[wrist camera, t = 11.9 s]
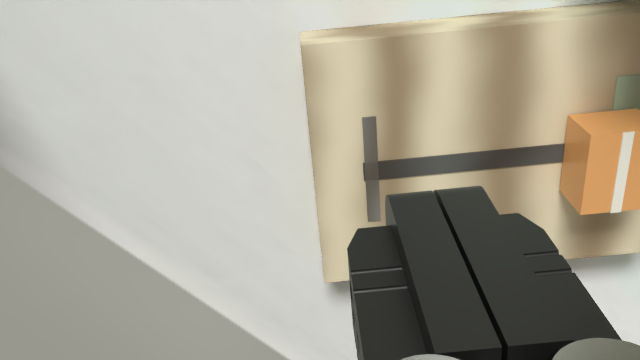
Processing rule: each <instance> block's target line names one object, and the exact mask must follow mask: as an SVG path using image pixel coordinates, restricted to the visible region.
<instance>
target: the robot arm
mask: <svg viewBox="0 0 640 360" xmlns="http://www.w3.org/2000/svg"><path fill="white" fill-rule="evenodd" d="M385 216H386V226H378V227H368V228H358V229H357V231H356V232H355V234H354V236H353V238H352V240H351V242H350V244H349V246H348V248H347V254H348V267H349V280H350V293H351V306H352V319H353V328H354V336H355V343H356V349H357V357H358V360H640V346H639V345H636V344H633V343H630V342H626V341H622V340H621V338H620V337H619V335H618V334H617V333H616V331H615V330H614V328H613V327H612V325H611V324H610V323H609V321H608V320H607V318H606V317H605V316H604V314H603V313H602V311H601V310H600V308H599V307H598V306H597V304H596V303H595V301H594V300H593V298H592V297H591V296H590V294H589V293H588V291H587V290H586V288H585V287H584V286H583V284H582V283H581V281H580V280H579V279H578V277H577V276H576V274H575V273H572V271H571V267H570V266H569V264H568V263H567V261H566V260H565V259H564V257H563V256H562V255H559V250H558V249H557V247H556V246H555V244H554V243H553V242H552V240H551V239H550V237H549V236H548V234H547V233H546V232H545V230H544V229H543V228H541V227H540V226H538V225H536V224H535V223H533V222H532V221H530V220H529V219H527V218H525V217H524V216H522V215H521V214H519V213H511V214H501V215H499V213H498V211H497V210H496V208H495V207H494V205H493V203H492V202H491V200H490V198H489V197H488V195H487V193H486V192H485V190H484V189H483V187H482V186H470V187H460V188H449V189H439V190H434V191H431V190H430V191H420V192H409V193H399V194H389V195H386V198H385Z"/></svg>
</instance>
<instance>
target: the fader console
mask: <svg viewBox="0 0 640 360" xmlns="http://www.w3.org/2000/svg"><path fill="white" fill-rule="evenodd" d="M300 44H301V54H302V64H303V74H304V84H305V94H306V104H307V114H308V124H309V134H310V144H311V153H312V163H313V173H314V183H315V193H316V203H317V213H318V223H319V233H320V243H321V252H322V262H323V272H324V282H325V283H329V282H339V281H349V267H348V254H347V248H348V246H349V244H350V242H351V240H352V238H353V236H354V234H355V232H356V231H357V229H358V228H368V227H378V226H386V216H385V198H386V195H389V194H399V193H409V192H420V191H430V190H431V191H434V190H439V189H449V188H460V187H470V186H482V187H483V189H484V190H485V192H486V193H487V195H488V197H489V198H490V200H491V202H492V203H493V205H494V207H495V208H496V210H497V211H498V213H499V215H501V214H511V213H519V214H521V215H522V216H524V217H525V218H527V219H529V220H530V221H532V222H533V223H535V224H536V225H538V226H540V227H541V228H543V229H544V230H545V232H546V233H547V234H548V236H549V237H550V239H551V240H552V242H553V243H554V244H555V246H556V247H557V249H558V250H559V255H562V256H563V257H564V259H565V260H567V259H577V258H588V257H598V256H608V255H619V254H629V253H640V209H639V210H628V211H621V212H617V213H610V212H607V213H597V214H587V215H580V214H579V213H578V212H577V211H576V209H575V208H574V207H573V206H572V205H571V203H570V202H569V201H568V200H567V199H566V197H565V196H564V195H563V194H562V193H561V191H560V182H561V173H562V164H563V156H564V147H565V138H566V130H567V121H568V115H573V114H583V113H594V112H604V111H615V110H625V109H635V108H637V109H638V110H640V0H627V1H617V2H606V3H596V4H586V5H575V6H565V7H554V8H544V9H534V10H523V11H513V12H502V13H492V14H482V15H471V16H461V17H451V18H440V19H430V20H419V21H409V22H399V23H388V24H378V25H367V26H357V27H347V28H336V29H326V30H315V31H305V32H300Z"/></svg>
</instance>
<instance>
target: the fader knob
mask: <svg viewBox="0 0 640 360" xmlns="http://www.w3.org/2000/svg"><path fill="white" fill-rule="evenodd" d="M560 191H561V193H562V194H563V195H564V196H565V197H566V199H567V200H568V201H569V202H570V203H571V205H572V206H573V207H574V208H575V209H576V211H577V212H578V213H579V214H580V215H587V214H597V213H607V212H610V213H617V212H621V211H628V210H639V209H640V110H638V109H637V108H635V109H625V110H615V111H604V112H594V113H583V114H573V115H568V121H567V130H566V138H565V147H564V156H563V164H562V173H561V182H560Z"/></svg>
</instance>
